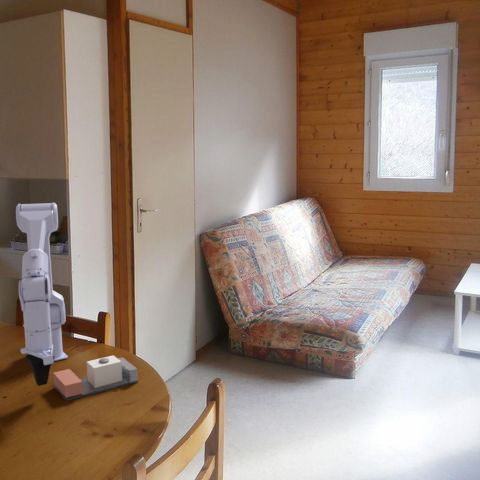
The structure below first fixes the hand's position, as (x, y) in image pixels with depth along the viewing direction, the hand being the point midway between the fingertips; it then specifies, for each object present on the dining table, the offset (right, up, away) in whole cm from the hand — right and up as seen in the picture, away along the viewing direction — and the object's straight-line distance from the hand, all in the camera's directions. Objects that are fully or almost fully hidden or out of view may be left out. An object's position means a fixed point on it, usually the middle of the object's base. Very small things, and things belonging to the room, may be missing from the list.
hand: (41, 384), depth 137 cm
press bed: (+11, -2, +8) cm, 13 cm away
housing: (+13, -1, +9) cm, 16 cm away
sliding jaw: (+5, -2, +4) cm, 7 cm away
